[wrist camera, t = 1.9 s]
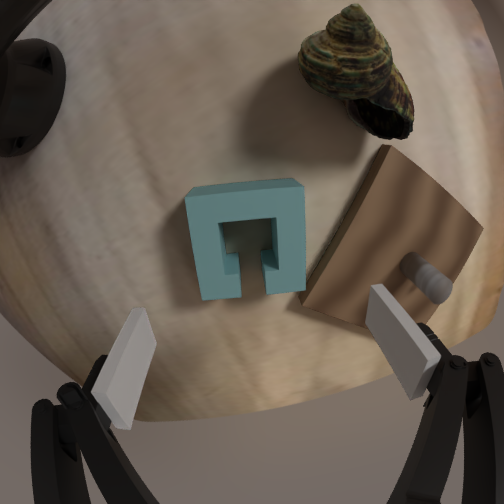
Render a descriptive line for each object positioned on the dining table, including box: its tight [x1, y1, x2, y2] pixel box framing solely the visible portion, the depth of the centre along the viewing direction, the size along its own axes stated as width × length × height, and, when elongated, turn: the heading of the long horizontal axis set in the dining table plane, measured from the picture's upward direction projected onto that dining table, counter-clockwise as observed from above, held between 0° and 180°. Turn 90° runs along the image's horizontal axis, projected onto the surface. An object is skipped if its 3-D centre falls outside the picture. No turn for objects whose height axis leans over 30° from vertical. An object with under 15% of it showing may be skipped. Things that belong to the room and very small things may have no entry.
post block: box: [299, 144, 484, 329], centre depth 28 cm, size 20×20×9 cm
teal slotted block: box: [185, 178, 306, 300], centre depth 27 cm, size 10×10×5 cm
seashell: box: [298, 4, 414, 140], centre depth 19 cm, size 11×11×10 cm
